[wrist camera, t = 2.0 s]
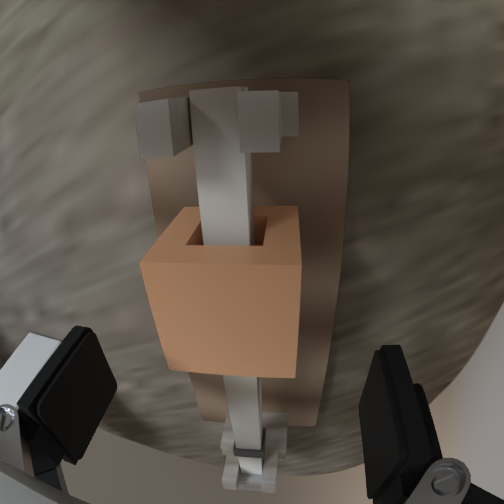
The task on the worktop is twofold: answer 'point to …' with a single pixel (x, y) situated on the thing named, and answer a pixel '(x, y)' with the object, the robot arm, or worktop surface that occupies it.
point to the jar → (24, 366)
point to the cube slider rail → (242, 229)
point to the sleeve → (228, 296)
